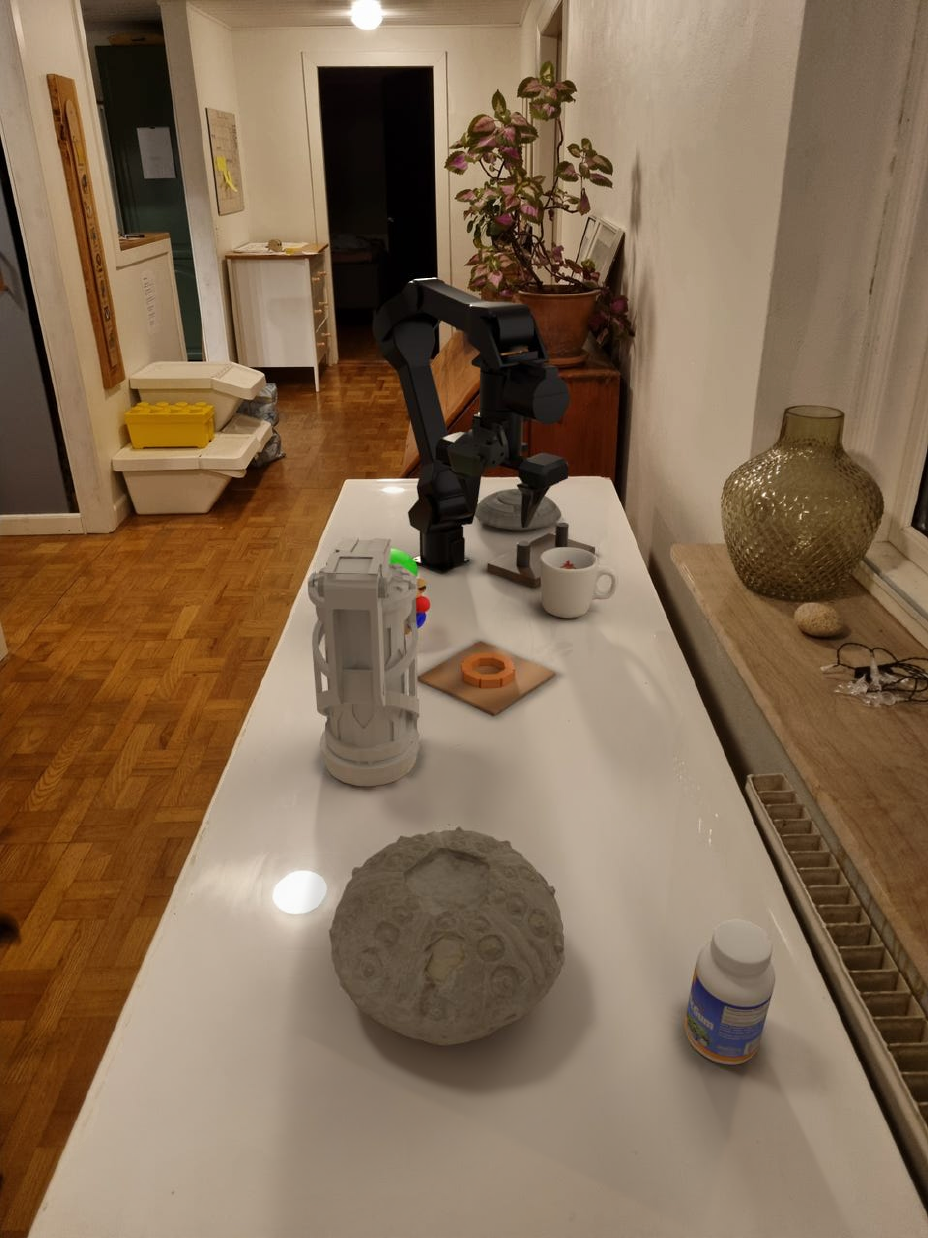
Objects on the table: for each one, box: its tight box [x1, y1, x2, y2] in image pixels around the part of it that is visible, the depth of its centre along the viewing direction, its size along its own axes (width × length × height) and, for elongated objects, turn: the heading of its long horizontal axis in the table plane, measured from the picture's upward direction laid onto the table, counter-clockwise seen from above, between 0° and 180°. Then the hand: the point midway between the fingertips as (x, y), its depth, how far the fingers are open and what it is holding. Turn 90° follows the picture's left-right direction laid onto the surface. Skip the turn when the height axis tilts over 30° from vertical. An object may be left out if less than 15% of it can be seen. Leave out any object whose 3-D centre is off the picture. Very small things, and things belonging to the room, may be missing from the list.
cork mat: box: [417, 640, 556, 716], centre depth 112 cm, size 12×12×1 cm
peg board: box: [486, 521, 596, 589], centre depth 141 cm, size 9×16×5 cm, turn 140°
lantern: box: [307, 537, 421, 788], centre depth 90 cm, size 13×10×25 cm
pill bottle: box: [684, 918, 776, 1066], centre depth 65 cm, size 5×5×10 cm
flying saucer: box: [474, 488, 562, 531], centre depth 157 cm, size 15×15×6 cm
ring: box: [461, 653, 515, 688], centre depth 112 cm, size 6×6×1 cm
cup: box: [540, 547, 619, 619], centre depth 127 cm, size 11×8×8 cm
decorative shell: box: [328, 826, 565, 1046], centre depth 70 cm, size 18×18×10 cm
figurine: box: [390, 548, 431, 636], centre depth 118 cm, size 11×10×12 cm
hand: (498, 519), depth 126 cm, fingers open, 9 cm apart
